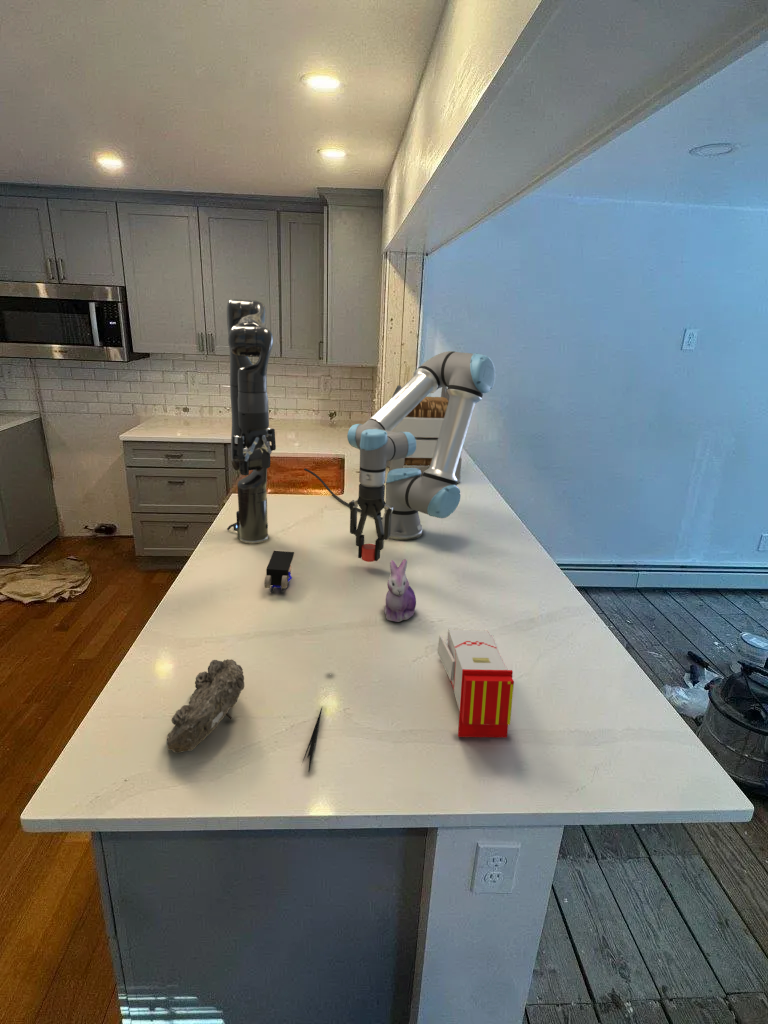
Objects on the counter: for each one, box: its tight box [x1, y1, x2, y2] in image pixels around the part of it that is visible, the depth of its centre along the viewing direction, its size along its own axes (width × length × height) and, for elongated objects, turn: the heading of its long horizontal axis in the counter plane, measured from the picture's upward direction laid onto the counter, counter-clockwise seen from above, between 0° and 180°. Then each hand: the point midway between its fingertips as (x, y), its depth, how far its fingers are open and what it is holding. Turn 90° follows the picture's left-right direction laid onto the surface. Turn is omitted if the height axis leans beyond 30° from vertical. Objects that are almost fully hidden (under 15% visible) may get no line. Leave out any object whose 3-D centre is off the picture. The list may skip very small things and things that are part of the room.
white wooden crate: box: [386, 384, 463, 484], centre depth 268 cm, size 34×33×41 cm
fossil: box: [166, 658, 245, 754], centre depth 106 cm, size 22×10×15 cm
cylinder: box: [360, 543, 376, 563], centre depth 170 cm, size 5×5×4 cm
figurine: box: [384, 558, 417, 623], centre depth 145 cm, size 9×10×15 cm
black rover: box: [264, 550, 295, 594], centre depth 159 cm, size 7×8×15 cm
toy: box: [437, 628, 515, 738], centre depth 117 cm, size 12×13×30 cm
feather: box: [301, 673, 332, 771], centre depth 108 cm, size 2×28×2 cm
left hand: (255, 471), depth 149 cm, fingers open, 8 cm apart
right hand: (369, 557), depth 171 cm, fingers closed on cylinder, 5 cm apart
